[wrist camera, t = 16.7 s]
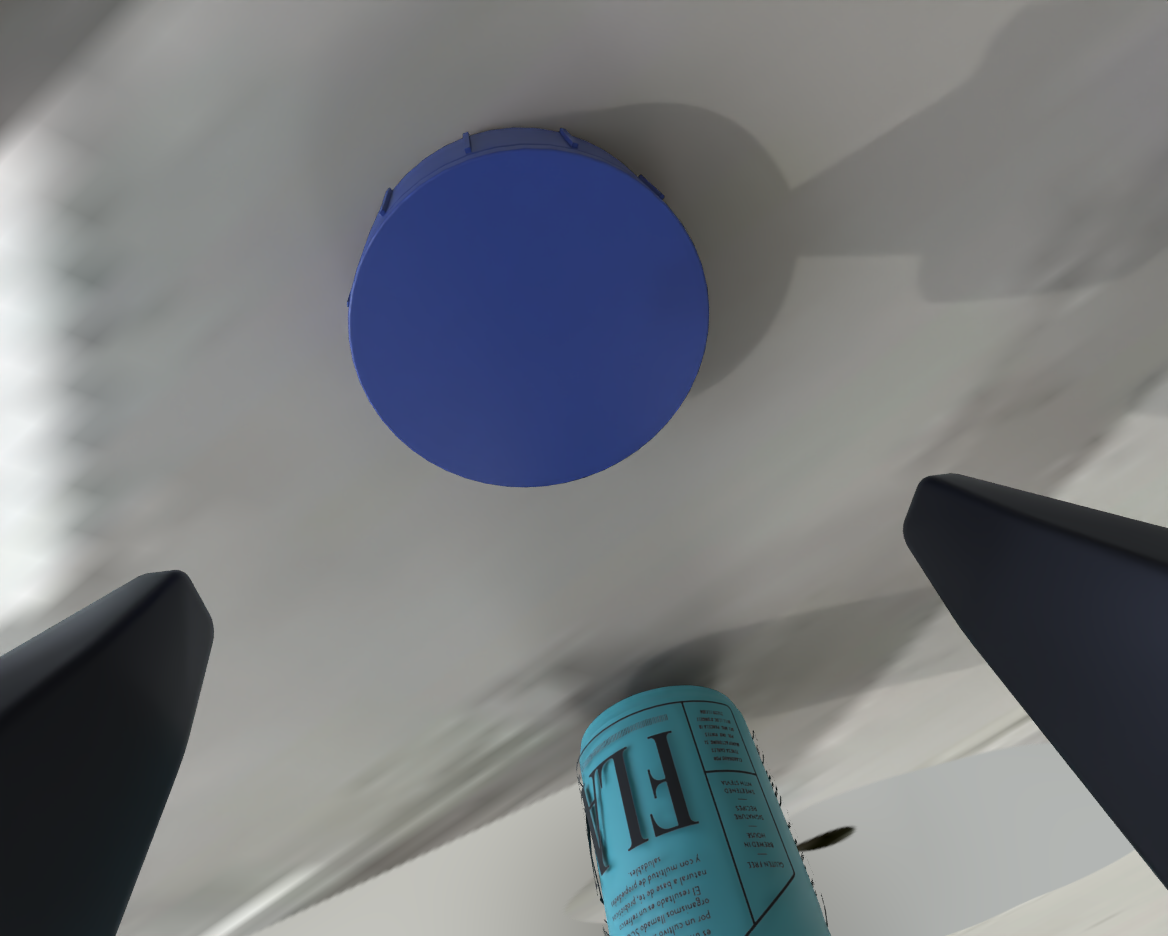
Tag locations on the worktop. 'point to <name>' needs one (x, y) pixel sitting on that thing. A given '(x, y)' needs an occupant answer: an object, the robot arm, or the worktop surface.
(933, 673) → the worktop surface
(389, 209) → the jar lid
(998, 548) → the robot arm
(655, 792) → the beverage bottle
